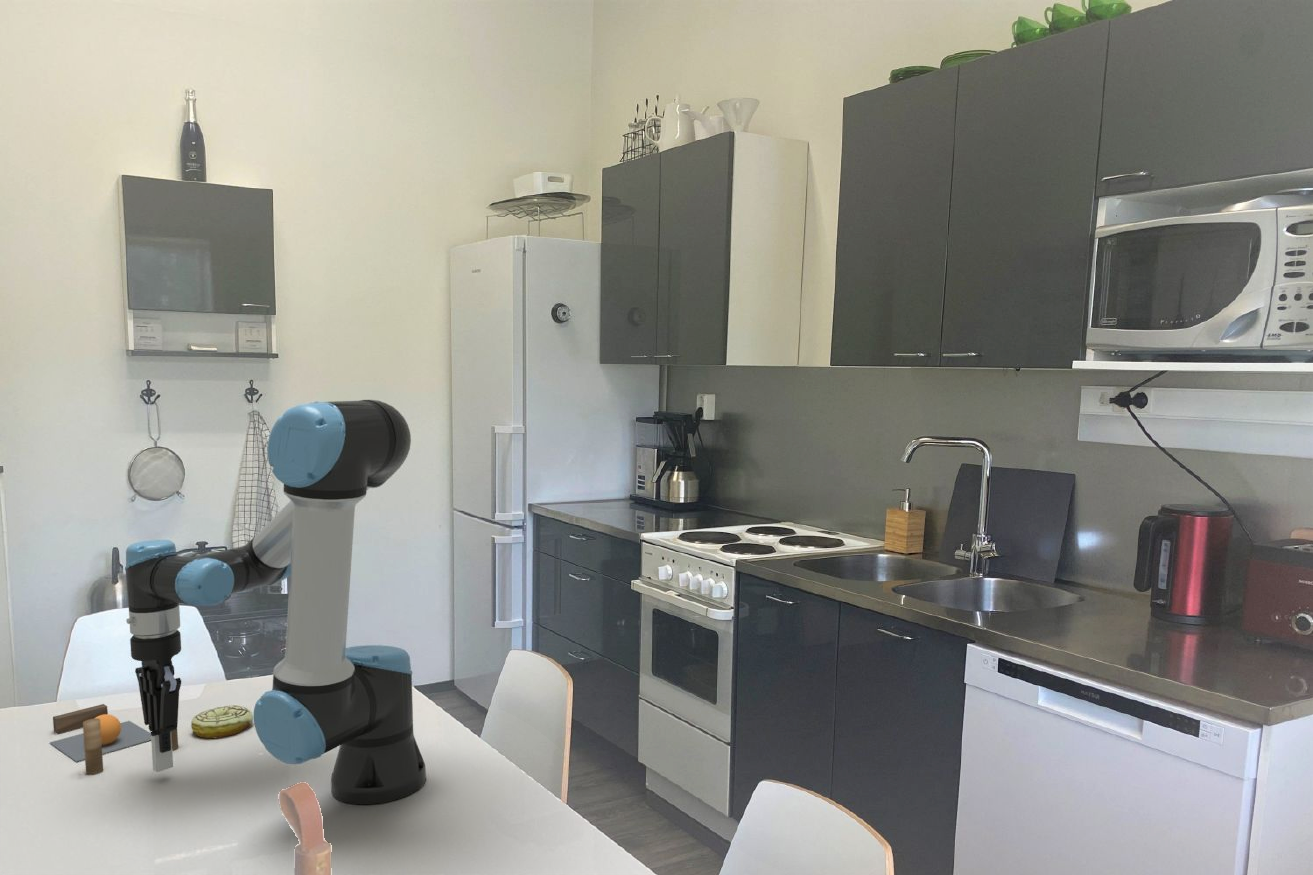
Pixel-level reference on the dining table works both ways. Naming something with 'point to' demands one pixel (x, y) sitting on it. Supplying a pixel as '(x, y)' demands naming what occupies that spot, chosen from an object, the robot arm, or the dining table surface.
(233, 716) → the decorated donut
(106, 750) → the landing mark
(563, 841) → the dining table surface
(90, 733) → the left post
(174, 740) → the right post
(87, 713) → the stopper wall
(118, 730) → the ball
